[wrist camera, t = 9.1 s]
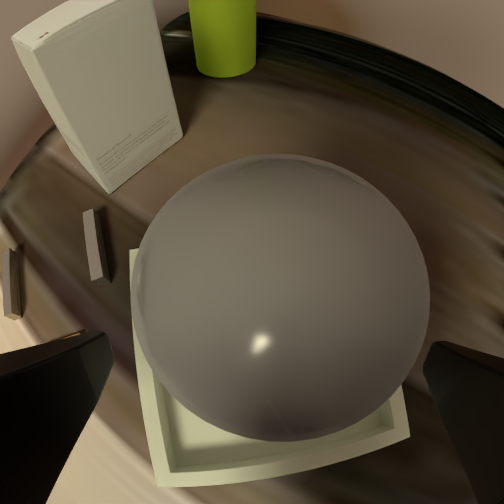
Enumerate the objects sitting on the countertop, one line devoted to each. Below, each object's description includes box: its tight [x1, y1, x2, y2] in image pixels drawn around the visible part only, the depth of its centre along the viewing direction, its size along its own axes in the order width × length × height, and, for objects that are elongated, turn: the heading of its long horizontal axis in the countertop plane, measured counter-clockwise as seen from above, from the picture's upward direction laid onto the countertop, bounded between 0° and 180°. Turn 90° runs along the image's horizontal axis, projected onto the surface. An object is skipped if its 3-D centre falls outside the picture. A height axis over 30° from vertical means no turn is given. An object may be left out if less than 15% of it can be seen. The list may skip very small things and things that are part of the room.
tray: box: [130, 248, 410, 487], centre depth 15 cm, size 13×13×2 cm
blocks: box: [2, 209, 111, 339], centre depth 16 cm, size 10×8×1 cm
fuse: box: [130, 154, 430, 442], centre depth 10 cm, size 5×5×12 cm
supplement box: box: [11, 0, 183, 194], centre depth 17 cm, size 7×7×13 cm
